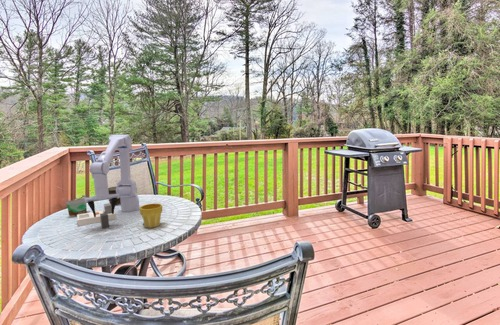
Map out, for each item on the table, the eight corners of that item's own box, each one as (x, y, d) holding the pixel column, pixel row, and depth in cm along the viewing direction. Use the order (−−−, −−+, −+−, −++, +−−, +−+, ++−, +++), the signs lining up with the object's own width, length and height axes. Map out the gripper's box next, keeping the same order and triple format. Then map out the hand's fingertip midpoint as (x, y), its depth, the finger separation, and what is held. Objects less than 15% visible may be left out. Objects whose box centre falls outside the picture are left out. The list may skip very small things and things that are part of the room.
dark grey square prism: (108, 226, 142) (106, 212, 141) (109, 229, 138) (108, 215, 137) (101, 227, 140) (100, 213, 139) (102, 230, 136) (100, 216, 135)
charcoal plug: (111, 215, 154) (110, 203, 153) (112, 218, 150) (111, 205, 149) (105, 217, 152) (103, 204, 151) (106, 219, 149) (104, 206, 148)
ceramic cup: (119, 200, 187) (117, 185, 186) (128, 203, 181) (126, 187, 180) (99, 205, 177) (97, 189, 175) (107, 208, 171) (106, 192, 169)
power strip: (113, 215, 157) (113, 207, 156) (116, 221, 149) (115, 212, 148) (77, 222, 148) (76, 213, 148) (78, 228, 140) (77, 218, 139)
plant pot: (144, 222, 147) (143, 203, 145) (165, 221, 147) (164, 202, 146) (138, 229, 136) (136, 209, 135) (160, 228, 137) (159, 208, 136)
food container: (77, 219, 152) (75, 201, 150) (67, 219, 153) (65, 201, 152) (94, 212, 164) (92, 195, 162) (84, 211, 165) (83, 194, 164)
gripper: (84, 191, 129) (87, 220, 131) (119, 186, 136) (121, 214, 138) (83, 188, 135) (86, 216, 137) (117, 184, 142) (119, 210, 144)
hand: (104, 214), depth 138 cm, fingers open, 7 cm apart
